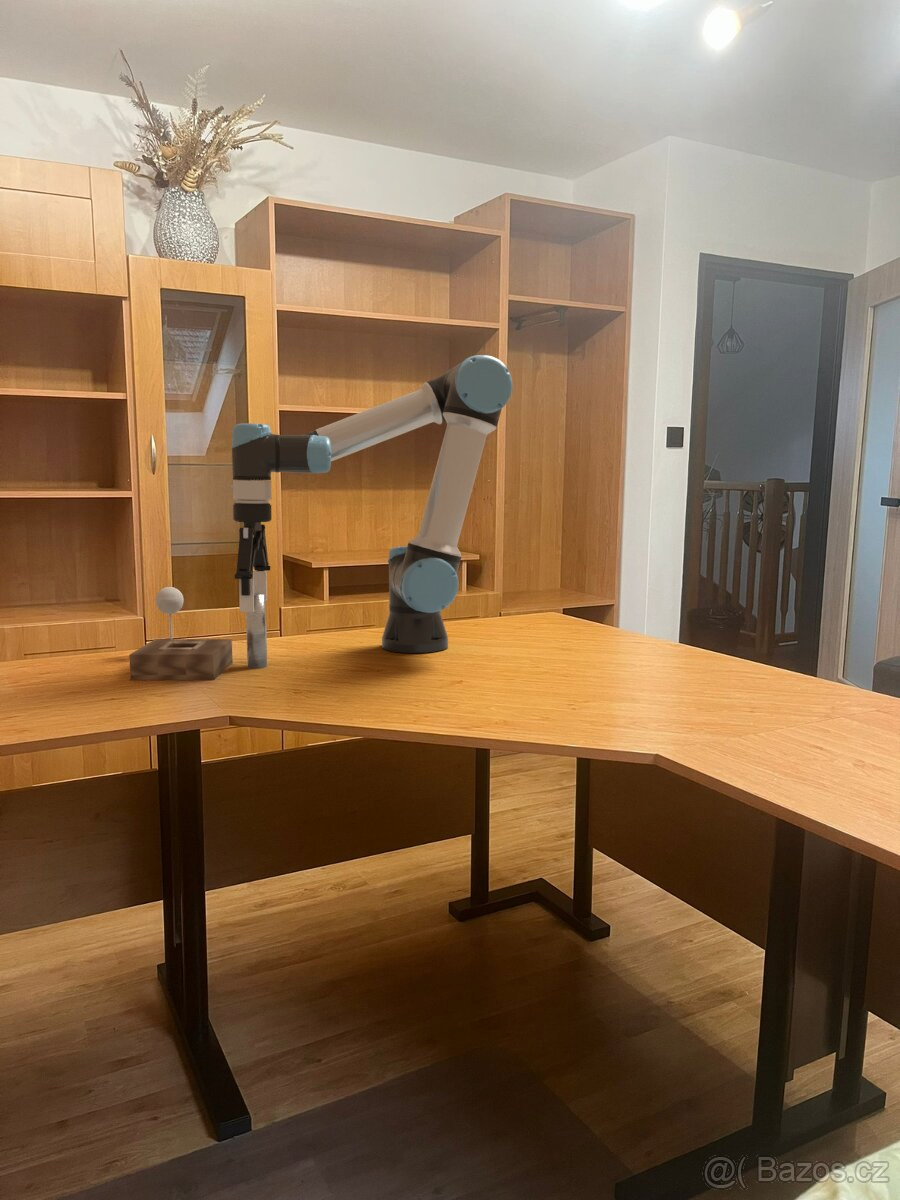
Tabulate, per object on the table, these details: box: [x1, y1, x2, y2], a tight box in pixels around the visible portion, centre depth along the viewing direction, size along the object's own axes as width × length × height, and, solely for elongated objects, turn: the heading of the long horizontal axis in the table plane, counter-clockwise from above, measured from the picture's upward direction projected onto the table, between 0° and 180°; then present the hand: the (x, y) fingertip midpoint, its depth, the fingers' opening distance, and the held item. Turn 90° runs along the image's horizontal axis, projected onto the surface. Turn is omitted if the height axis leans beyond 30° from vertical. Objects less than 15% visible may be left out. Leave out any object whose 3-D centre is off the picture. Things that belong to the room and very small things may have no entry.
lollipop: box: [154, 586, 185, 639], centre depth 196 cm, size 6×6×15 cm
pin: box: [245, 593, 268, 670], centre depth 184 cm, size 4×4×15 cm
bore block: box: [128, 638, 234, 681], centre depth 181 cm, size 16×16×5 cm
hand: (253, 606), depth 184 cm, fingers open, 13 cm apart
